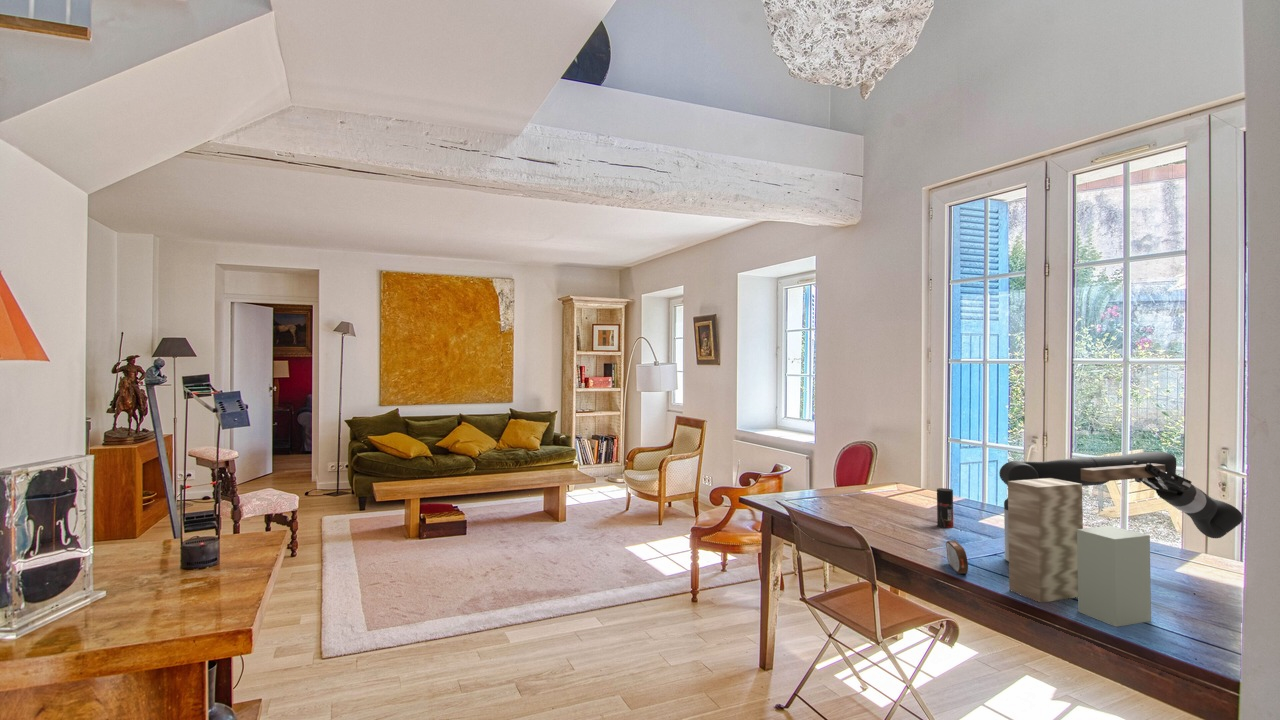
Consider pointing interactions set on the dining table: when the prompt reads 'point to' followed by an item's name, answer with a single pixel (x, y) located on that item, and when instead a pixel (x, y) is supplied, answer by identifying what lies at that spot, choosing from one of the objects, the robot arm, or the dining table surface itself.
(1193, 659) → the dining table surface
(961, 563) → the tin
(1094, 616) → the green plinth
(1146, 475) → the walnut bar
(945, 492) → the deodorant
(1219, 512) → the robot arm
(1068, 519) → the stand
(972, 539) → the dining table surface
